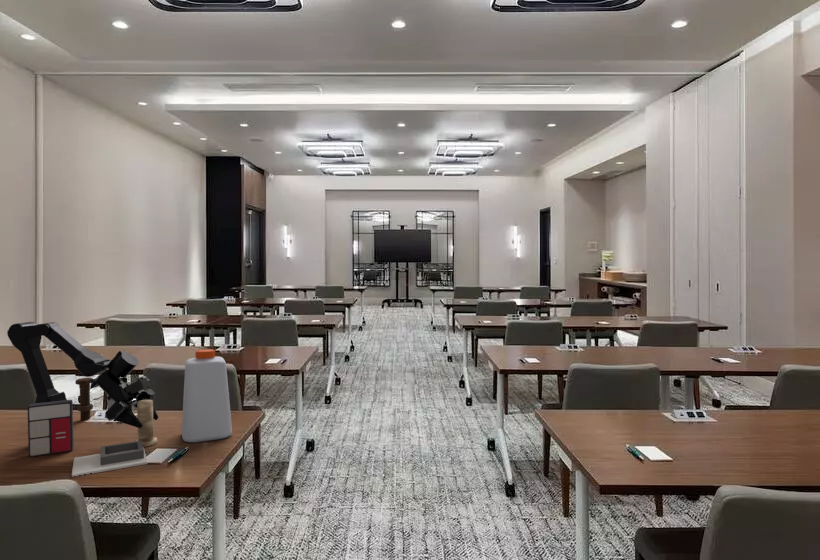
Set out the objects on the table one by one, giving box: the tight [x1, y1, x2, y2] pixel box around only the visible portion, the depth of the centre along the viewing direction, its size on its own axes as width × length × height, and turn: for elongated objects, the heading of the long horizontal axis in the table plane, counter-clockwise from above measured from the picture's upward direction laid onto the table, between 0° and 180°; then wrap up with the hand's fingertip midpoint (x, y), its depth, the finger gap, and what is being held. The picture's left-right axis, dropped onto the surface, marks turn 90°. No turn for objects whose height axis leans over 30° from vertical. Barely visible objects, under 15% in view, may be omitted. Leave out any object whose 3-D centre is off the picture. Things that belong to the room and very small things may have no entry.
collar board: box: [71, 440, 148, 478], centre depth 153 cm, size 18×15×3 cm
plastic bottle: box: [181, 348, 233, 444], centre depth 177 cm, size 15×15×28 cm
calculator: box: [27, 399, 74, 458], centre depth 161 cm, size 11×4×15 cm, turn 117°
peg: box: [134, 399, 158, 448], centre depth 169 cm, size 6×6×13 cm
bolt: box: [75, 377, 94, 421], centre depth 197 cm, size 6×5×15 cm
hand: (149, 422), depth 169 cm, fingers open, 9 cm apart
